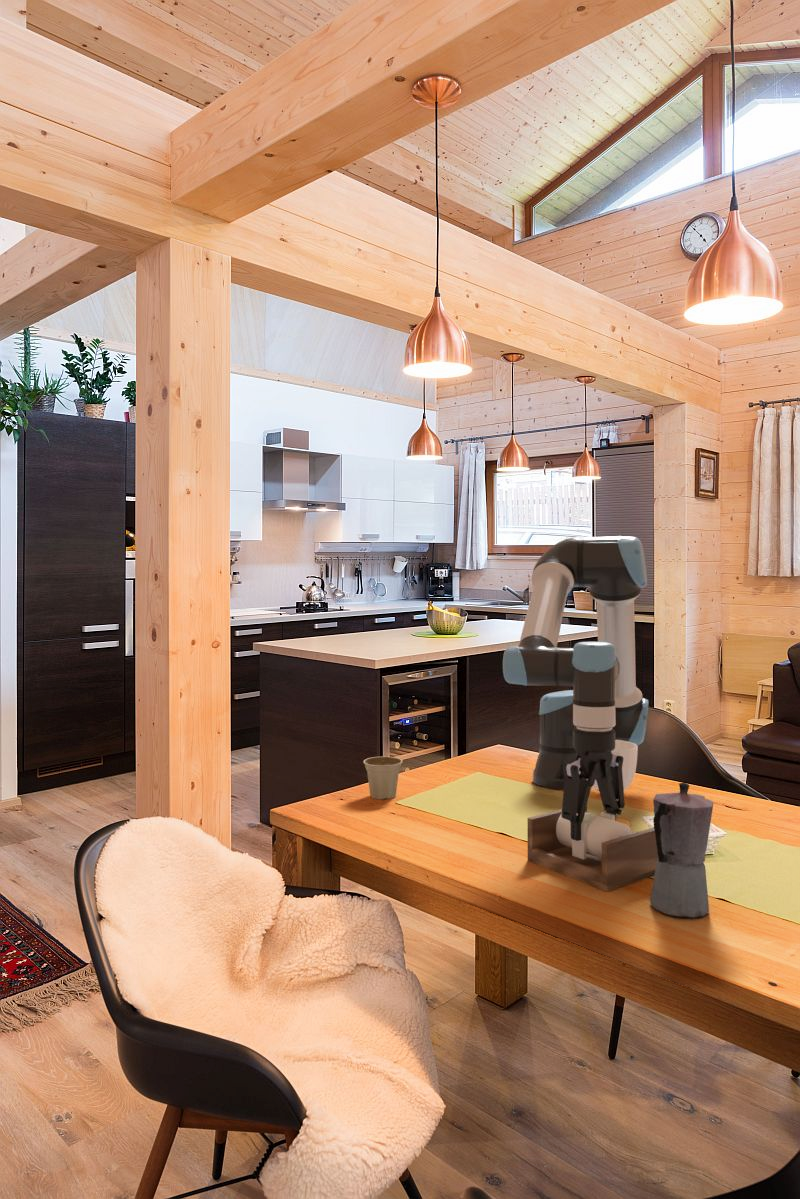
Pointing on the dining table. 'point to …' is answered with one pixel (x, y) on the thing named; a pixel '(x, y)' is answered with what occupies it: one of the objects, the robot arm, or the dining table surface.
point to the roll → (593, 832)
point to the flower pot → (383, 776)
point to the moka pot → (681, 853)
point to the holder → (614, 870)
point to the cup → (625, 765)
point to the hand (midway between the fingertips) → (593, 852)
